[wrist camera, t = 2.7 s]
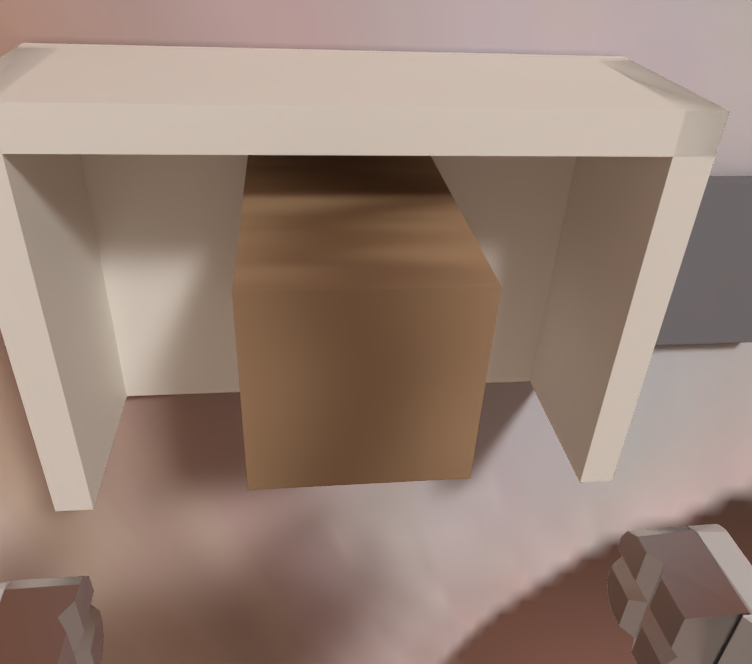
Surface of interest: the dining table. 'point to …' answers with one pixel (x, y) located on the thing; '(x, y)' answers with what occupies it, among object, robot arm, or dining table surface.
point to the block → (358, 322)
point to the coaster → (715, 270)
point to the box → (330, 137)
